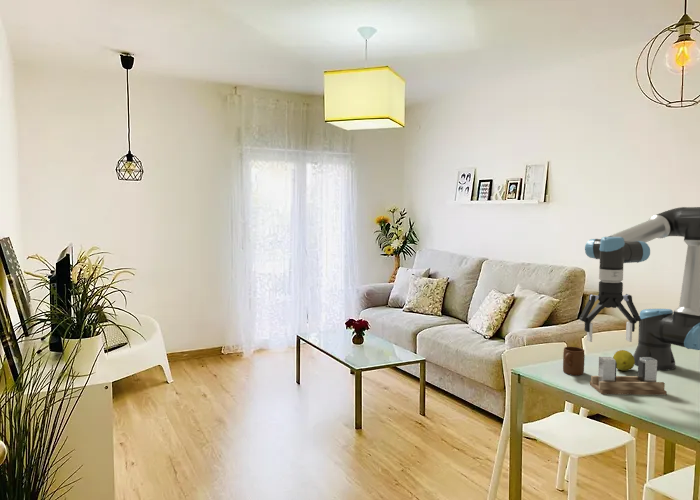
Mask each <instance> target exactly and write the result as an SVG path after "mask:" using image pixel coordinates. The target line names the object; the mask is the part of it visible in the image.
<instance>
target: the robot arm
mask: <svg viewBox="0 0 700 500" xmlns="http://www.w3.org/2000/svg"><path fill="white" fill-rule="evenodd" d="M667 237H682V238H683V242H684V243H685V244H686V245H687V249H686V255H685V261H684V262H685V263H684V270H683V275H682V283H681V284H682V285H681V292H680V297H679V306H678V307H676V308H675V309H673V310H672V309H671V308H646V309H641V310H640V311H637V308H636V306H635V304H634V302H633V296H632V295H631V294H629V293H626V294H623V291H624V290H623V289H624V282H623V281H624V264H630V263H631V264H632V263H636V264H638V263H642V262H646V261H647V260H648V259H649V258H650V255H651V248H650V245H649V244H648V243H649V242H651V241H653V240H655V239H665V238H667ZM647 242H648V243H647ZM584 251H585V255H586V256H587V258H590V259H595V260H599V270H598V273H599V274H598V279H599V282H598V295H595V294H591V293H590V294H589V295H588V301H587V302H586V305H584V307H583V310H582V312H581V313H580V315H579V317H578V318H579V321H582V322H584V331H585V332H586V341H588V342H589V343H592V342H593V328H594V327H593V322H592V321H593V320H594V319H595V318H596V317H597V316H598V314H599V313H600V312H601V311H603V310H604V309H605V308H606V309H610V308H612V309H616V308H617V309H618V310H619V311H620V312H621V313H622V315H624V317H625V318H626V319H627V320H628V321H626V325H625V340H626V341H628V342H629V343H631V342H633V333H634V332H635V329H636V328H635V325H636V324H637V322H638V337H637V338H638V341H637V346H636V348H635V351H634V353H633V354H632V355H633V357H634V360H635V364H634V366H637V367H638V360H640V357H652V358H654V359H656V360H657V371H670V370H674V369H675V368H676V360H675V357H674V353H673V350H672V345H673V346H678V347H682V348H686V349H687V350H695V351H700V206H691V207H690V206H688V207H687V206H681V207H675V208H671V209H668V210H664V211H663V212H660V213H657V214H654V215H653V216H650V217H649V218H648V219H647V220H646V221H644V222H641V223H639V224H636V225H634V226H631V227H629V228H626V229H623V230H621V231H619V232H616V233H613V234H611V235H609V236H603V237H601V238H591V239H589V240H587V241H586V243H585V246H584ZM597 301H598V303H596V302H597ZM623 301H624V302H625V303H626V305H627V307H628V309H629V311H628V310H627V308H626V307H625V306H624V305H623V304H622V302H623ZM595 303H596V306H595V307H594V305H595ZM593 307H594V308H593ZM592 308H593V309H592Z"/></svg>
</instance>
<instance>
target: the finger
mask: <svg viewBox="0 0 700 500" xmlns="http://www.w3.org/2000/svg"><path fill="white" fill-rule="evenodd" d="M657 374H658V370H657V360H656V359H654V358H652V357H640V360H638V366H637V376H638V380H639V382H657V377H658V376H657Z"/></svg>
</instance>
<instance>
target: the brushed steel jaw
mask: <svg viewBox="0 0 700 500" xmlns="http://www.w3.org/2000/svg"><path fill="white" fill-rule="evenodd" d="M615 361H616V360H615V359H613V356H612V357H611V356H599V357H598V371H597V372H598V374H597V376H598V384H599V381H605V382H616V376H617V368H616V367H617V362H615Z"/></svg>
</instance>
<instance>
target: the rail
mask: <svg viewBox="0 0 700 500" xmlns="http://www.w3.org/2000/svg"><path fill="white" fill-rule="evenodd" d="M590 379H591V380H589V384H590V386H591V387H592V388H593V389H594V390H596V391H597V392H598V393H600V395H631V396H632V395H633V396H634V395H643V396H644V395H647V396H649V395H651V396H652V395H653V396H656V395H657V396H658V395H659V396H667V393H668V392H667V390H665V389H666V388H665V385H666V384H665V383H666V382H664V381H656V382H639V380H638V375H635V376H634V375H616V382H605V381H599V384H598V375H591V376H590Z"/></svg>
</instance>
